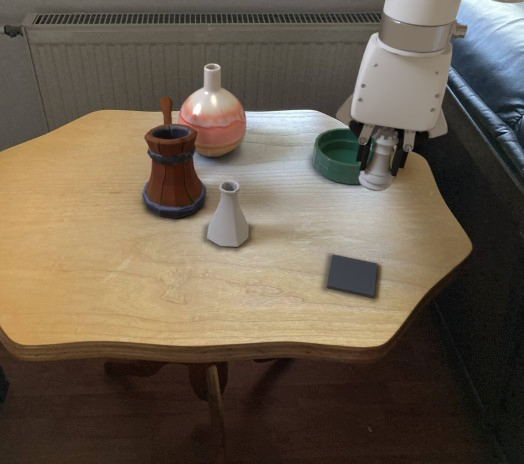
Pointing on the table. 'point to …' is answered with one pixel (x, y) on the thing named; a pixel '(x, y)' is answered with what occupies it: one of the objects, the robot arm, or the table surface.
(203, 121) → the vase
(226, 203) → the flask
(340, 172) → the bowl
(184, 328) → the table surface
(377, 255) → the table surface
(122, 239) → the table surface
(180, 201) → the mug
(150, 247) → the table surface
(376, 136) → the rook chess piece
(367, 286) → the mat
